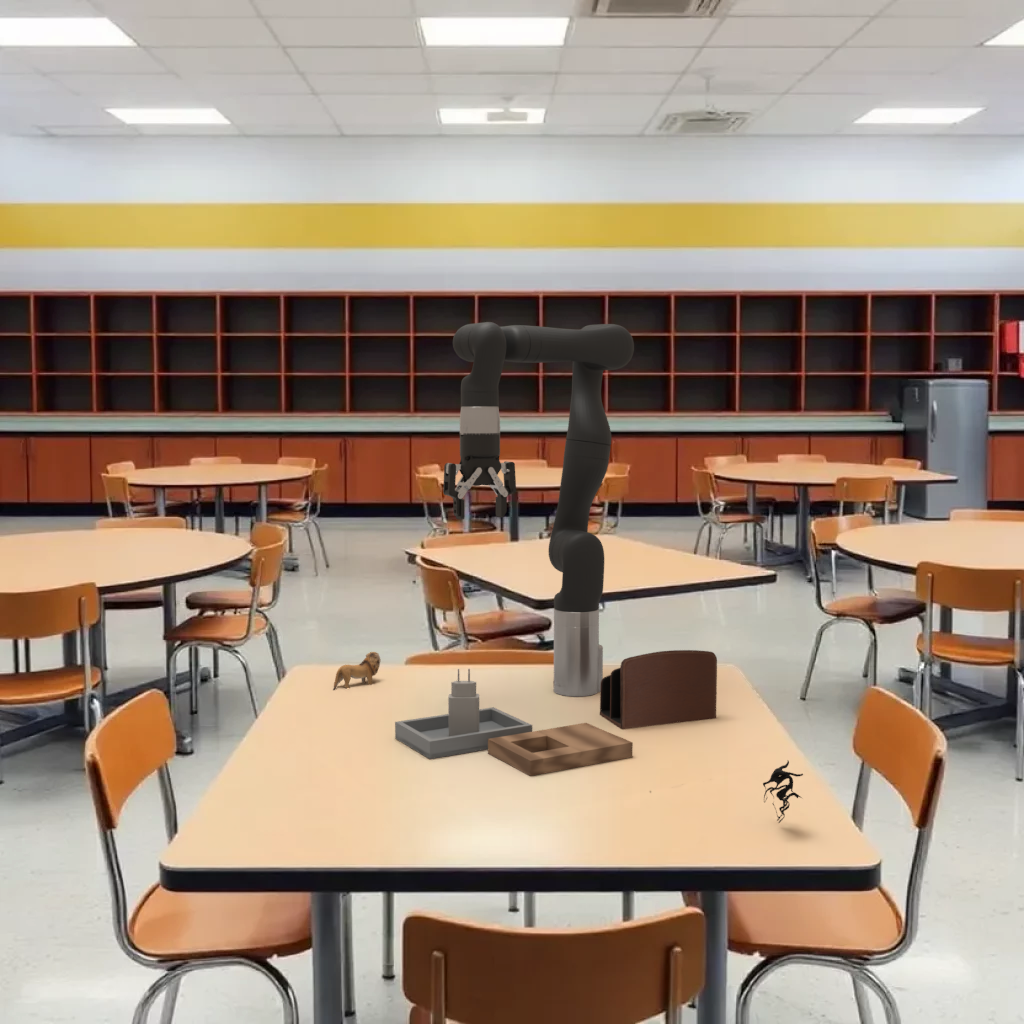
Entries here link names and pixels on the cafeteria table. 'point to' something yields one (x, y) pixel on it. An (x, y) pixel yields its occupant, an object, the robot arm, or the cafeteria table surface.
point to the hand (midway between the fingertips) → (480, 517)
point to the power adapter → (463, 707)
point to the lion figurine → (359, 670)
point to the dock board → (559, 748)
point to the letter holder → (661, 689)
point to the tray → (435, 741)
